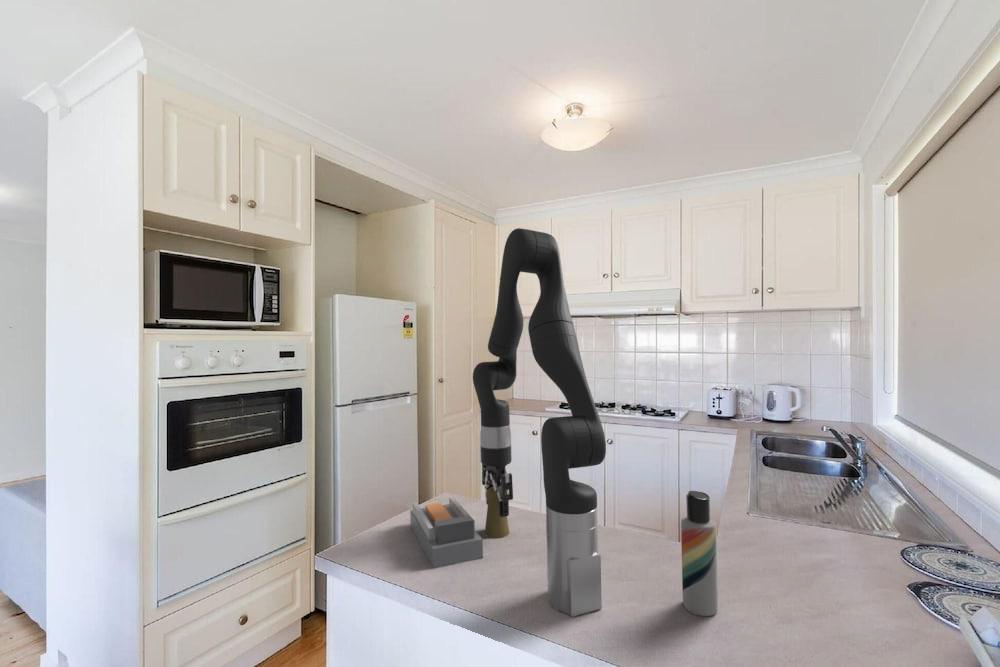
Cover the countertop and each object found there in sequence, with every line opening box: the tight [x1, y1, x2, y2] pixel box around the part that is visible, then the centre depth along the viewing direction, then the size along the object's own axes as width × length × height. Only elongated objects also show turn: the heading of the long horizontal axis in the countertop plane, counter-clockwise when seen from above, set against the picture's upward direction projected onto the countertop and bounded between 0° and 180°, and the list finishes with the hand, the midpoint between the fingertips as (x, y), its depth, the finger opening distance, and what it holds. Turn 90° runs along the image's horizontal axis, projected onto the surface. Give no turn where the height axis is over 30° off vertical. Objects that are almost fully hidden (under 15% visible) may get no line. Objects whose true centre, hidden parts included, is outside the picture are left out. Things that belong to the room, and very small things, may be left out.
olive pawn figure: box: [484, 487, 510, 539], centre depth 115 cm, size 6×6×11 cm
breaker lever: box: [424, 502, 452, 523], centre depth 113 cm, size 17×4×1 cm, turn 22°
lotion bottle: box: [680, 490, 719, 617], centre depth 82 cm, size 6×6×20 cm
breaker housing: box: [409, 496, 484, 569], centre depth 111 cm, size 24×11×8 cm, turn 22°
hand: (497, 510), depth 114 cm, fingers open, 8 cm apart
